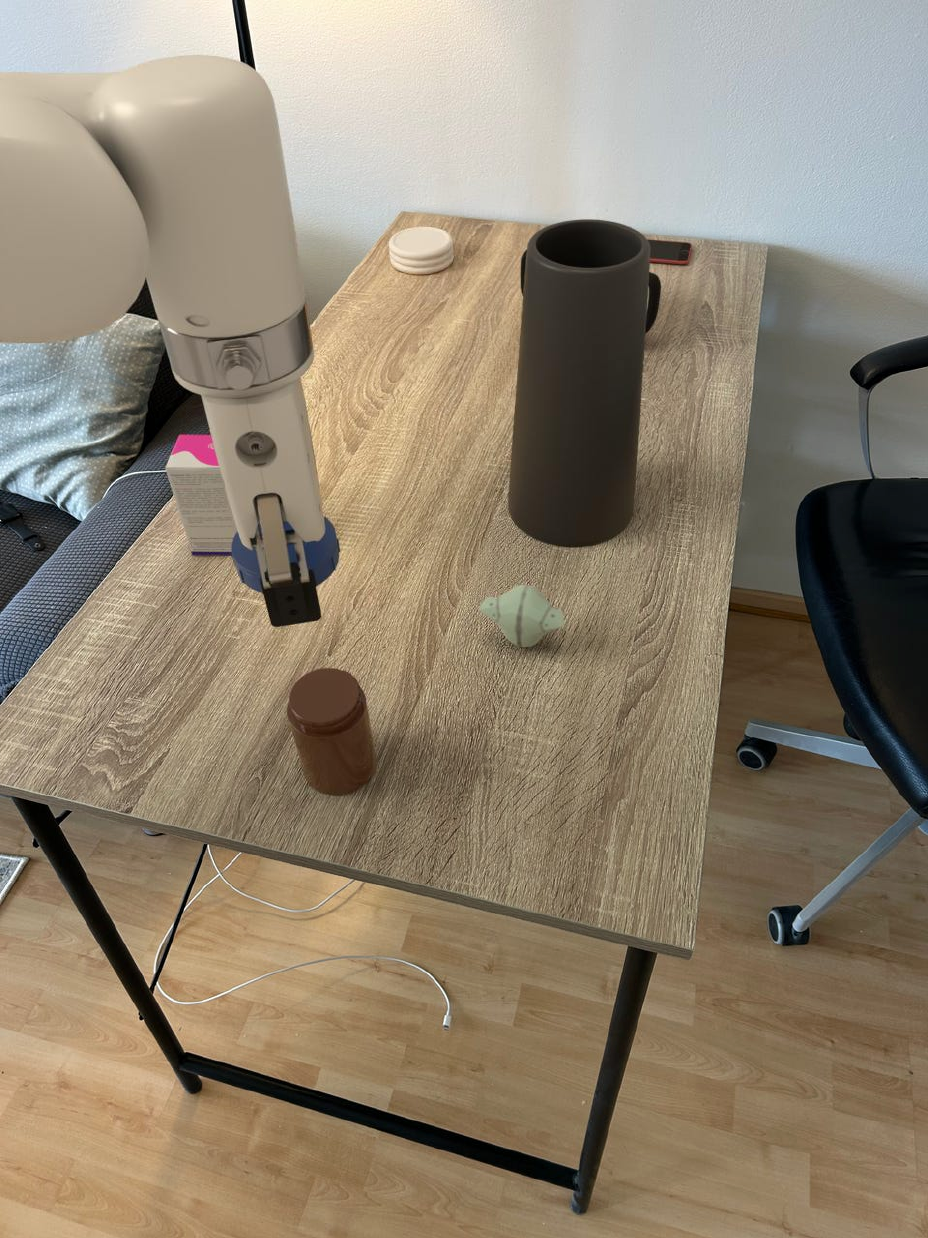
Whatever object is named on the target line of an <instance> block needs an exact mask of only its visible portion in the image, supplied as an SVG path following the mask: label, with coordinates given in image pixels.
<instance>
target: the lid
mask: <svg viewBox="0 0 928 1238" xmlns="http://www.w3.org/2000/svg"><path fill="white" fill-rule="evenodd" d="M324 522H325V533H324V535H323V537H322V538H321V539H320V540H319V541H316V540H315V541H310V542H305V541H303V543H304V549H305V555H306V560H307V566H308V570H310V569H313V574H314V579H315V584H316V587H319V586H320V585H321V584H323V583H324V582H325V581H327V579H329V578H330V577H331V576H332V574H333V573H334V572H335V571H336V570H337V569H336V568H337V567H338V563H339V561H340V553H341V546H340V540H339V538H338V536H337V532H336V528H335V526H334V525H333V523H332V521H330V519H329V518H328V517H327V516H325V515H324ZM284 527H285V531H287V530H294V529H293V528H292V527H291V525H290V524H289V523H288V522H284ZM260 531H261V526H260ZM261 534H262V531H261ZM287 546H288V552H289V558H290V561H291V562H296V563H297V558H296V552H295V547H294V544H289V545H287ZM231 550H232V553H231V554H232V555H231V557H232V561H233V565H234V567H235V569H236V572H237V575H238V577H239V579H240V581H241V584H244V585H245V586H246V587H248V588H249V589H251V590H253V591H255V592H257V593H260V594H262V595H263V591H262V587H261V584H260V577H261V572H260V567H259V562H258V557H257V551H256V546H254V550H250V549H248V548H247V547H245V546H244V545H243V544H242V542H241V539H240V537H239V534H238V531H237V533H236V534H235V536H234V538H233V541H232V546H231ZM297 564H298V563H297Z"/></svg>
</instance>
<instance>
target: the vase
mask: <svg viewBox="0 0 928 1238" xmlns="http://www.w3.org/2000/svg"><path fill="white" fill-rule="evenodd" d="M647 239H648V238H646V236H645V235H644V234H643V233H642V232H641V231H638V230H637V229H635V228H633V227H632V226H628V225H626V224H623V223H619V222H616V221H611V220H605V219H593V218H588V219H587V218H586V219H584V218H583V219H570V220H565V221H560V222H556V223H553V224H549V225H547V226H544V227H543V228H541V229H539V230H538V231H536V232H535V233H534V234H533V235H532V236H531V237H530V238H529V240H528V242H527V246H526V249H527V254H526V263H525V276H524V290H523V296H522V304H521V306H522V308H521V316H520V317H521V322H520V332H519V333H520V334H519V348H518V359H517V372H516V384H515V385H516V386H515V388H516V389H515V398H514V399H515V401H514V414H513V426H512V439H511V440H512V441H511V442H512V443H511V453H510V467H509V468H510V469H509V482H508V495H507V496H508V497H507V508H508V512H509V516H510V517H511V519H512V521H513V523H514V524H515V525H516V527H518V529H520V530H521V531H522V532H523V533H525V534H526V535H528V536H529V537H531V538H533V539H535V540H536V541H540V542H542V543H545V544H549V545H553V546H559V547H569V548H570V547H571V548H574V547H575V548H576V547H588V546H589V547H590V546H593V545H598V544H600V543H605V542H606V541H609V540H611V539H612V538H615V537H616V536H618V535H619V534H621V533H622V532H623V531H624V530H625V529H626V528H627V527H628V525H629V524H630V522H631V521H632V518H633V515H634V511H635V510H634V509H635V501H636V500H635V497H636V484H637V468H638V456H639V438H640V424H641V406H642V391H643V379H644V378H643V376H644V375H643V373H644V360H645V346H646V334H645V332H646V312H647V298H648V283H649V272H650V268H651V262H650V244H649V242H648V240H647Z"/></svg>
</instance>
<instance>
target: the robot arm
mask: <svg viewBox="0 0 928 1238" xmlns="http://www.w3.org/2000/svg"><path fill="white" fill-rule="evenodd" d="M274 99H275V98H274V96H273V94H272V91H271V90H270V87H269V86H268V84H267V82H266V80H265V78H264V77H263V76H262V75H261V74H260V72H258V70H256V69H255V68H253V67H252V66H250V65H249V64H247V63H245V62H243V61H240V60H236V59H233V58H228V57H224V56H219V55H209V54H208V55H206V54H205V55H204V54H192V55H191V54H190V55H189V54H188V55H187V54H186V55H176V56H168V57H162V58H157V59H153V60H147V61H143V62H141V63H137V64H134V65H131V66H130V67H128V68H126V69H124V70H122V71H113V72H112V71H111V72H82V73H81V72H75V73H74V72H73V73H71V72H69V73H65V72H64V73H63V72H31V71H29V72H25V71H24V72H22V71H7V72H5V71H4V72H3V71H2V72H0V343H5V344H47V343H56V342H65V341H66V342H67V341H73V340H77V339H80V338H84V337H86V336H90V335H93V334H96V333H97V332H100V331H102V330H104V329H106V328H108V327H110V326H111V325H113V324H114V323H115V322H116V321H118V320H119V319H120V318H122V317H123V316H124V315H125V314H126V313H127V312H128V311H129V309H130V308H131V307H132V306H133V304H134V303H135V302H136V301H137V300H138V297H139V296H140V293H141V291H142V289H143V287H144V285H145V282H146V283H147V287H148V290H149V294H150V298H151V301H152V303H153V308H154V311H155V314H156V318H157V322H158V325H159V328H160V331H161V332H160V333H161V335H162V339H163V342H164V345H165V349H166V353H167V356H168V359H169V360H168V361H169V363H170V367H171V370H172V371H171V372H172V374H173V376H174V379H175V381H176V382H177V383H178V384H179V385H180V386H182V387H183V388H184V389H186V390H188V391H189V392H191V393H194V394H197V395H200V396H201V400H202V404H203V409H204V412H205V416H206V421H207V424H208V428H209V433H210V434H209V435H211V437H212V441H213V444H214V448H215V452H216V456H217V460H218V464H219V468H220V471H221V475H222V479H223V482H224V486H225V490H226V494H227V497H228V501H229V504H230V508H231V511H232V514H233V518H234V521H235V524H236V528H237V531H238V534H239V537H240V539H241V542H242V544H243V545H244V546H245V547H247V548H248V549H250V550H254V546H256V551H257V557H258V562H259V567H260V572H261V577H260V584H261V587H262V591H263V594H262V595H263V599H264V603H265V606H266V610H267V614H268V618H269V622H270V625H271V626H272V627H275V628H281V627H287V626H294V625H299V624H306V623H312V622H317V621H320V620H321V619H322V610H321V605H320V600H319V599H320V598H319V595H318V589H317V586H316V584H315V579H314V574H313V569H310V570H308V566H307V560H306V555H305V549H304V543H303V541H305V542H310V541H315V540H316V541H319V540H320V539H321V538H322V537H323V535H324V533H325V522H324V516H325V515H324V508H323V500H322V494H321V487H320V480H319V473H318V466H317V462H316V461H317V460H316V454H315V450H314V442H313V436H312V430H311V425H310V420H309V419H310V418H309V413H308V408H307V403H306V402H307V401H306V396H305V393H304V392H305V391H304V386H303V382H302V376H304V375H305V374H306V372H308V371H309V370H310V368H311V366H312V364H313V363H314V359H315V349H314V343H313V337H312V330H311V323H310V317H309V311H308V304H307V299H306V298H307V297H306V291H305V285H304V279H303V272H302V266H301V259H300V254H299V247H298V241H297V234H296V226H295V222H294V214H293V209H292V202H291V195H290V189H289V183H288V176H287V169H286V163H285V157H284V151H283V144H282V138H281V131H280V124H279V119H278V114H277V109H276V104H275V100H274ZM284 522H288V523H289V524H290V525H291V527H292V528H293V529H294V530H287V531H285V527H284ZM260 526H261V531H262V534H261V531H260ZM289 544H294V547H295V552H296V558H297V563H298V564H297V563H296V562H291V561H290V558H289V552H288V546H287V545H289Z"/></svg>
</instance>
